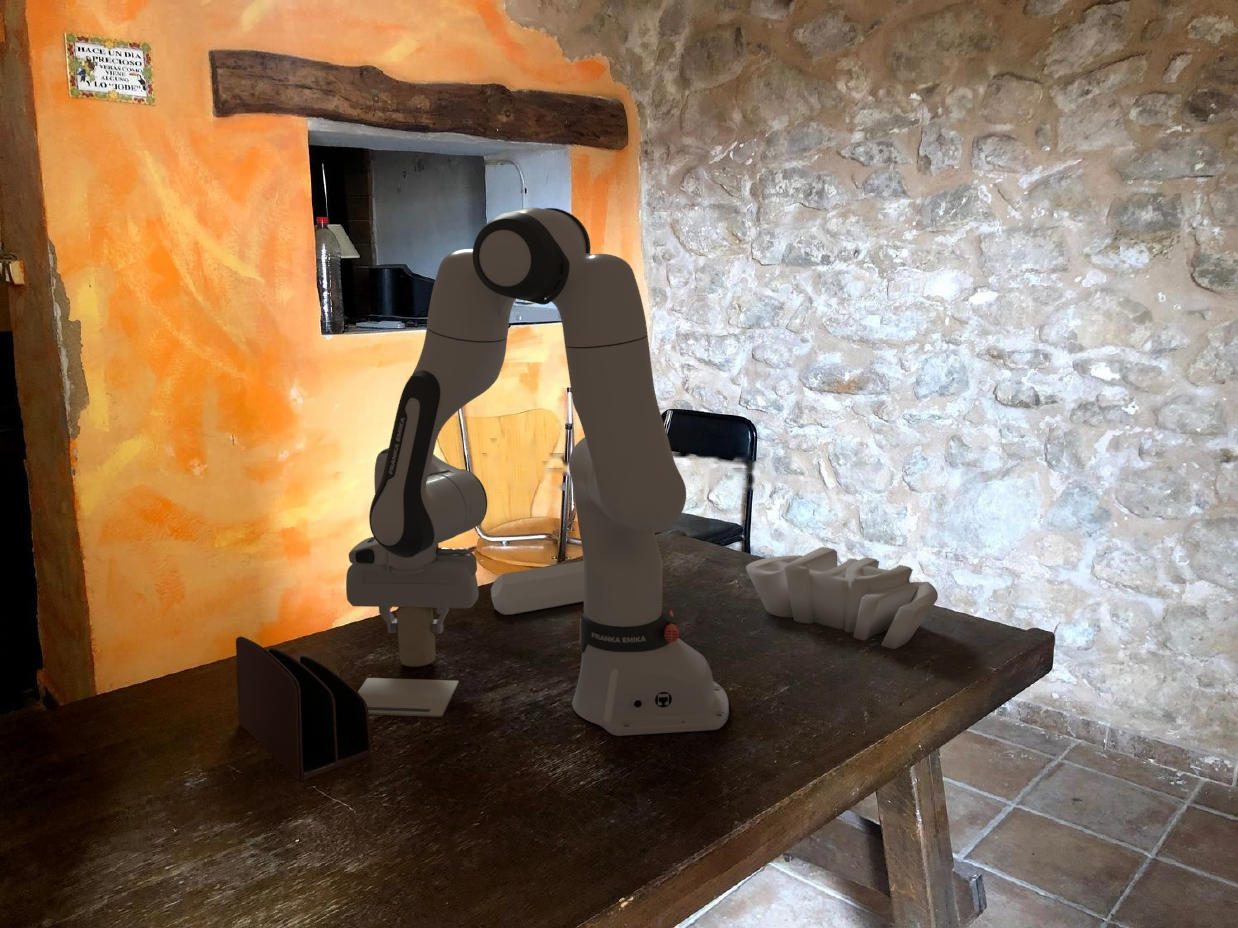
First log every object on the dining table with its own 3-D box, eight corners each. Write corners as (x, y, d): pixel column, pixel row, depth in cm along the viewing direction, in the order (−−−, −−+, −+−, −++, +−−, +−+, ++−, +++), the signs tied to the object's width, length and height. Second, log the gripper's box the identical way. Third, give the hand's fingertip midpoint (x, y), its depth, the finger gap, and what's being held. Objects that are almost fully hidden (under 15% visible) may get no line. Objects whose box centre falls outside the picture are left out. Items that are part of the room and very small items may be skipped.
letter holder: (299, 784, 121) (292, 678, 118) (238, 725, 136) (230, 629, 133) (373, 757, 128) (368, 655, 125) (307, 703, 142) (301, 612, 139)
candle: (425, 668, 151) (421, 607, 149) (393, 665, 153) (388, 604, 151) (442, 654, 157) (437, 595, 154) (411, 650, 158) (406, 592, 156)
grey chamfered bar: (596, 564, 192) (480, 583, 181) (611, 555, 186) (492, 574, 175) (605, 601, 191) (488, 622, 180) (620, 594, 184) (500, 615, 173)
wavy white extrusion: (956, 636, 168) (961, 577, 166) (910, 665, 157) (915, 602, 154) (785, 586, 192) (787, 534, 190) (734, 608, 180) (736, 553, 178)
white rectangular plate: (458, 682, 149) (458, 680, 149) (442, 716, 138) (441, 714, 138) (367, 679, 150) (367, 677, 150) (344, 713, 139) (343, 710, 139)
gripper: (480, 541, 152) (485, 625, 156) (353, 540, 155) (361, 622, 158) (470, 554, 146) (475, 641, 149) (338, 553, 149) (346, 638, 152)
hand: (415, 631), depth 154 cm, fingers open, 5 cm apart
